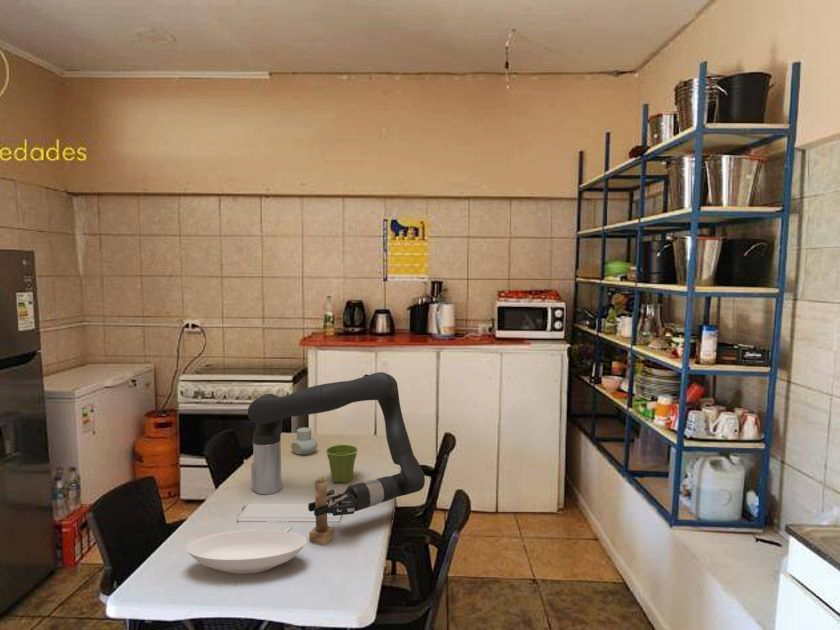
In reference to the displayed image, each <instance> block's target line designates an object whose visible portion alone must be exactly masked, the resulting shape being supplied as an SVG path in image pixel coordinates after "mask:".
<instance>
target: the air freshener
mask: <svg viewBox="0 0 840 630" xmlns="http://www.w3.org/2000/svg"><path fill="white" fill-rule="evenodd" d="M318 446H319V445H318V442H317V441H316V439H314V438H312V429H311V427H300V428H297V430H296V439H294V440H293V441H292V442H291V445H290V448H291V450H292V451H293V453H294V454H297V455H298V456H304V455H309V454H310V455H311V454H312V453H314V452H315V451H316V450H317V448H318Z"/></svg>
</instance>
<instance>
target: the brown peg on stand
mask: <svg viewBox="0 0 840 630" xmlns="http://www.w3.org/2000/svg"><path fill="white" fill-rule="evenodd" d="M327 487H328V483H327V480H326V479H325V477H324V476H323V475H321V476H317V480H315V481H314V496H315V498H314V499H315V501H314V502H315V508H317V507H320V506H324V505H327V503H328V502H327V492H328V489H327ZM308 536H309V537H308V539H309V543H310V542H312V543H311V544H315V543H317V544H316V545H320V544H321V545H322V546H326V545H328V544H329V542H331V541H332V540H333V539H334V538H335V527H334V526H330V525H328V522H327V514H323V515H320V516H317V517H316V522H315V527H313V529H311V530H310V531H309V532H308ZM333 537H334V538H333ZM321 545H320V546H321Z"/></svg>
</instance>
